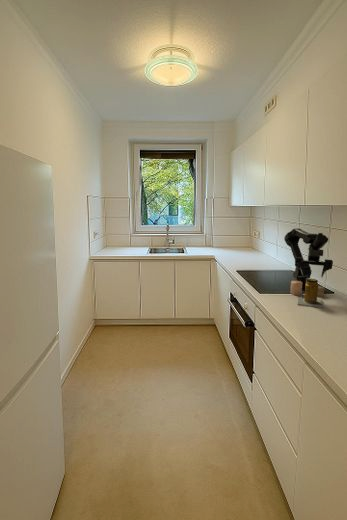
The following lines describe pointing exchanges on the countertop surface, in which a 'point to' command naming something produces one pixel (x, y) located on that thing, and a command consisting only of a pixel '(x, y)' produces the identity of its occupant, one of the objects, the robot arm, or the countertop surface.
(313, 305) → the slate mat
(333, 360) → the countertop surface
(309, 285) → the condiment
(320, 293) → the walnut block
